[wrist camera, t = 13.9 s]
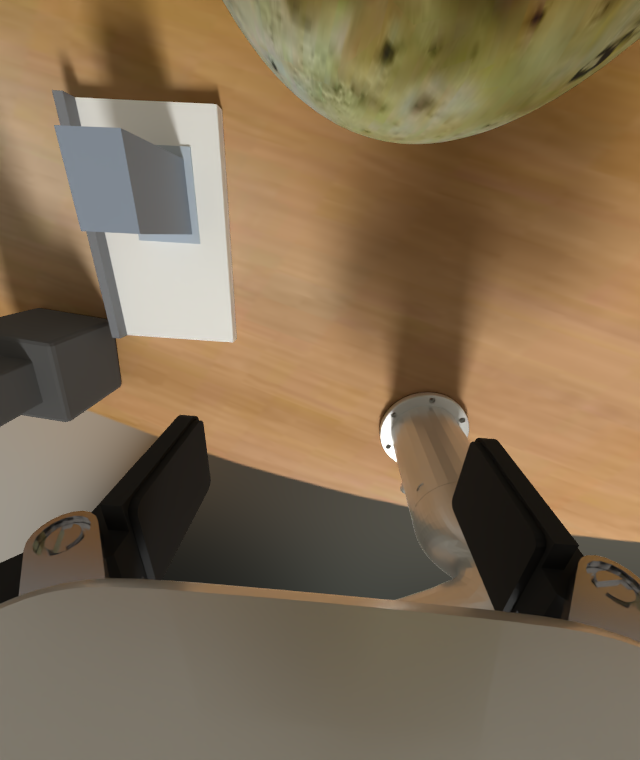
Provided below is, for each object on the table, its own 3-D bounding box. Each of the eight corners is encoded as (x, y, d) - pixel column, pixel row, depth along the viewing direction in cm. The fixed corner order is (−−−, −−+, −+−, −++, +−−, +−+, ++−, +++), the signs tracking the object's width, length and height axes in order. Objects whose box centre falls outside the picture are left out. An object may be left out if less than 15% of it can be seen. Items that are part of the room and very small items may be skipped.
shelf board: (236, 338, 41) (229, 346, 38) (124, 331, 42) (109, 337, 39) (222, 109, 31) (210, 97, 28) (73, 102, 31) (48, 90, 29)
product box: (183, 158, 31) (120, 127, 22) (192, 234, 34) (140, 234, 25) (132, 156, 32) (50, 124, 23) (145, 232, 35) (77, 230, 26)
